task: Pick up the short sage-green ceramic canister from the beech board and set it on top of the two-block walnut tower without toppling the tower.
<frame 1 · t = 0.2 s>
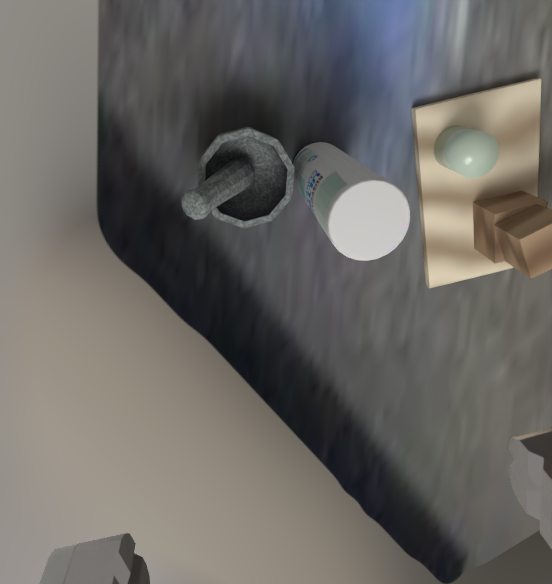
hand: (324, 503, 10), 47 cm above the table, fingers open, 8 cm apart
base block: (497, 220, 59), point 1 cm above the table, touching board, top block
top block: (520, 233, 54), point 6 cm above the table, touching base block
canister: (453, 147, 54), point 1 cm above the table, touching board
mortar and pestle: (236, 168, 54), on the table
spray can: (318, 169, 55), on the table
board: (475, 189, 58), on the table
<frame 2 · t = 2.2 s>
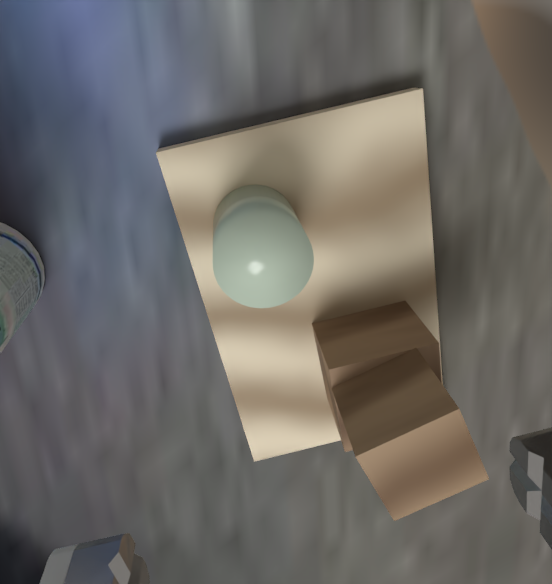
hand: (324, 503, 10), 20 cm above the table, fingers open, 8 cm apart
base block: (364, 351, 31), point 1 cm above the table, touching board, top block
top block: (389, 400, 27), point 6 cm above the table, touching base block
canister: (254, 225, 27), point 1 cm above the table, touching board
board: (320, 297, 31), on the table
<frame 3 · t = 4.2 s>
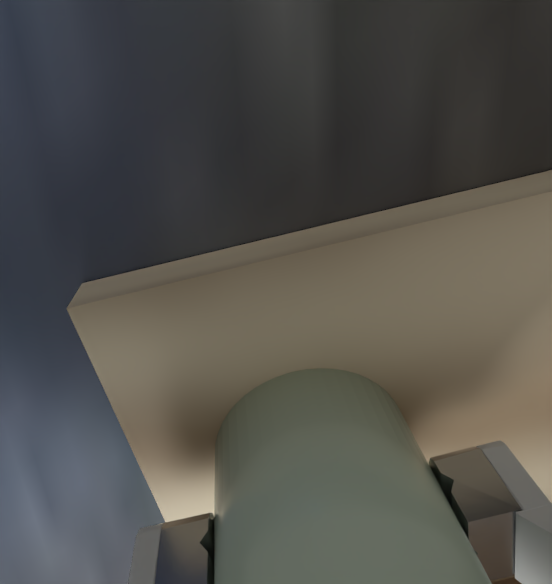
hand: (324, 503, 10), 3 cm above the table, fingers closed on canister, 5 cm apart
canister: (311, 448, 12), point 1 cm above the table, touching board, gripper
board: (430, 537, 15), on the table
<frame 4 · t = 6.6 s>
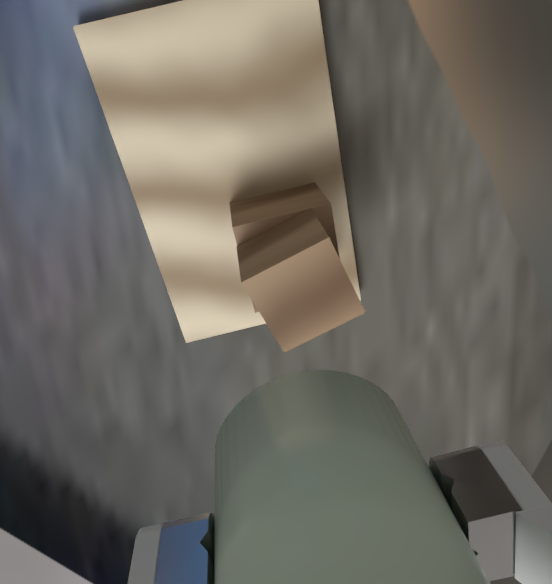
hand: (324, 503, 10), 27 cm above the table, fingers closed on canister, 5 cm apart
base block: (280, 232, 34), point 1 cm above the table, touching board, top block
top block: (291, 260, 30), point 6 cm above the table, touching base block
canister: (311, 450, 12), point 25 cm above the table, touching gripper
board: (239, 180, 33), on the table
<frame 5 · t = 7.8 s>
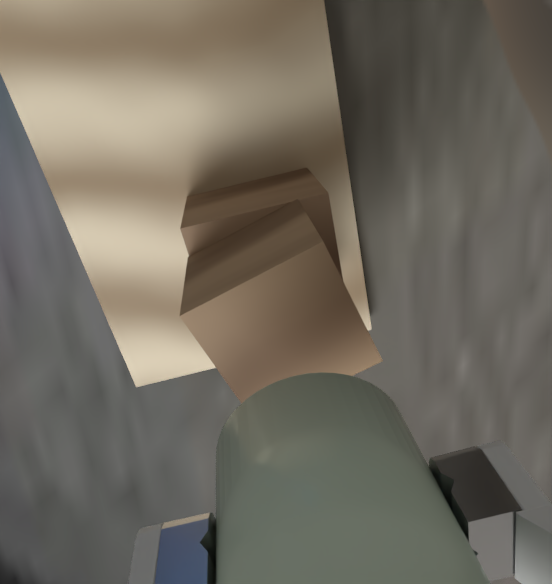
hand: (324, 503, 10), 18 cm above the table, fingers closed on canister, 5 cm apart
base block: (260, 238, 25), point 1 cm above the table, touching board, top block
top block: (270, 278, 20), point 6 cm above the table, touching base block
canister: (312, 452, 12), point 16 cm above the table, touching gripper
board: (201, 166, 24), on the table
when the fingers open (14 cm above the table, at t = 8.9 s): canister drops 1 cm, resting on top block.
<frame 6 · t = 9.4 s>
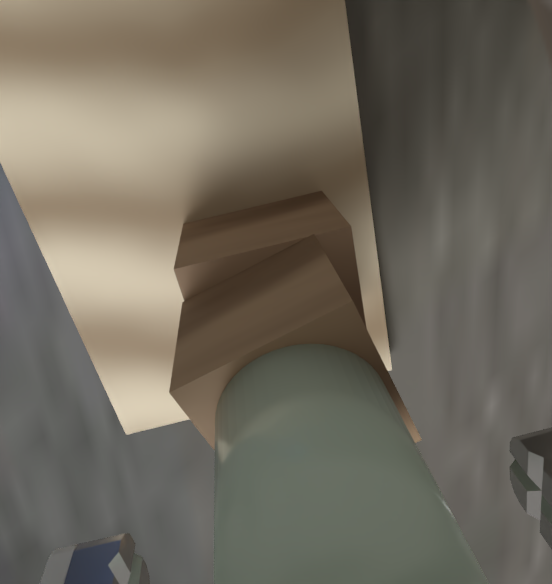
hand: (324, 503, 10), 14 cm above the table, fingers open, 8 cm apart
base block: (267, 270, 22), point 1 cm above the table, touching board, top block
top block: (280, 325, 17), point 6 cm above the table, touching base block, canister
canister: (303, 418, 13), point 11 cm above the table, touching top block
board: (200, 188, 21), on the table
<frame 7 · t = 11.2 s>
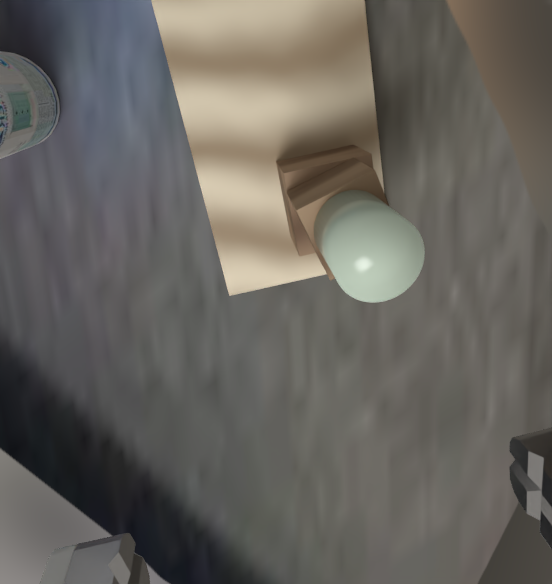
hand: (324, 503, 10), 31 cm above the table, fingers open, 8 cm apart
base block: (320, 191, 38), point 1 cm above the table, touching board, top block
top block: (334, 207, 33), point 6 cm above the table, touching base block, canister
canister: (351, 228, 29), point 11 cm above the table, touching top block
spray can: (15, 100, 34), on the table
board: (284, 143, 37), on the table
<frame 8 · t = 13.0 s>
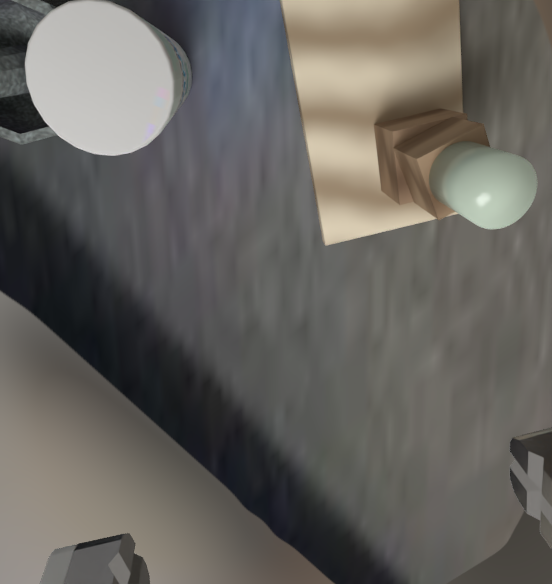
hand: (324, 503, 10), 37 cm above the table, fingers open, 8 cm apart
base block: (410, 150, 43), point 1 cm above the table, touching board, top block
top block: (432, 161, 39), point 6 cm above the table, touching base block, canister
canister: (460, 174, 34), point 11 cm above the table, touching top block
mortar and pestle: (36, 69, 39), on the table
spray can: (154, 74, 40), on the table
board: (379, 108, 43), on the table
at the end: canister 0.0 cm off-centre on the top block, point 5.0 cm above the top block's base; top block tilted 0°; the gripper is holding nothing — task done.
